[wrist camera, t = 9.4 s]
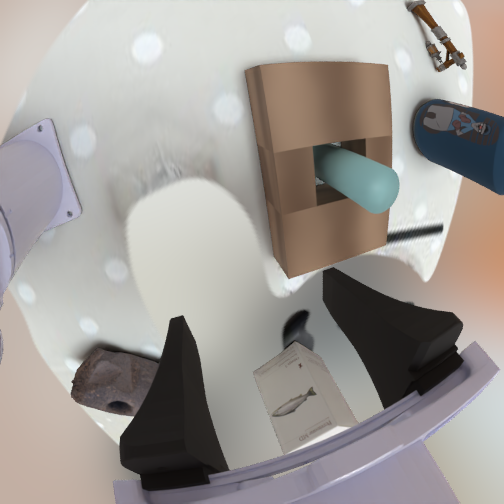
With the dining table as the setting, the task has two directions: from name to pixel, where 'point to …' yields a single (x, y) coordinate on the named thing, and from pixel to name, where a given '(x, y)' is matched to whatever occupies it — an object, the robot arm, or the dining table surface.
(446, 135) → the soda can
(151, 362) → the perforated stone tool
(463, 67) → the brown long banded part
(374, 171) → the peg
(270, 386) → the supplement box
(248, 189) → the dining table surface
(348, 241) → the hole block
